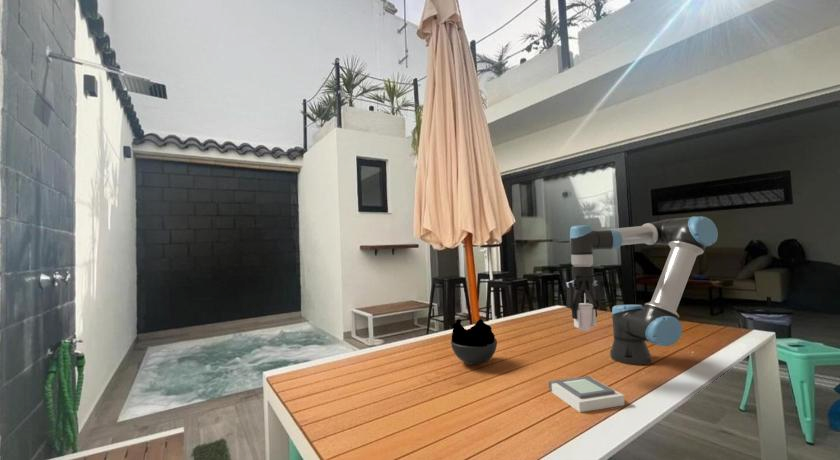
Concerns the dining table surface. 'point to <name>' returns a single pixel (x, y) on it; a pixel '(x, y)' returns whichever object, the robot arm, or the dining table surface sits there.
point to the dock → (586, 393)
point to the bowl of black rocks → (473, 342)
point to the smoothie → (585, 315)
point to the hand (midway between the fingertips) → (585, 326)
